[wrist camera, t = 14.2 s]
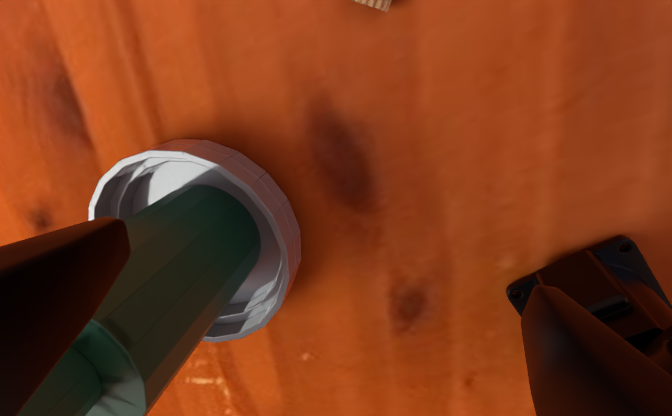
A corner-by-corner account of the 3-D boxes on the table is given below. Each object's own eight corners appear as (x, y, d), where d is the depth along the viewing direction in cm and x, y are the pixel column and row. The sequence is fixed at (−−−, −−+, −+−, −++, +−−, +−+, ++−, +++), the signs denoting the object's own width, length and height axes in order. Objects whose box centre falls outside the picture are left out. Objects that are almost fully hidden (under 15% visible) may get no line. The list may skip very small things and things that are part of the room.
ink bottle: (282, 252, 24) (122, 498, 11) (208, 298, 26) (8, 542, 13) (209, 162, 22) (-71, 324, 10) (138, 220, 25) (-158, 409, 12)
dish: (342, 261, 24) (332, 289, 21) (210, 336, 28) (187, 368, 25) (212, 94, 21) (181, 101, 18) (89, 204, 26) (50, 224, 23)
